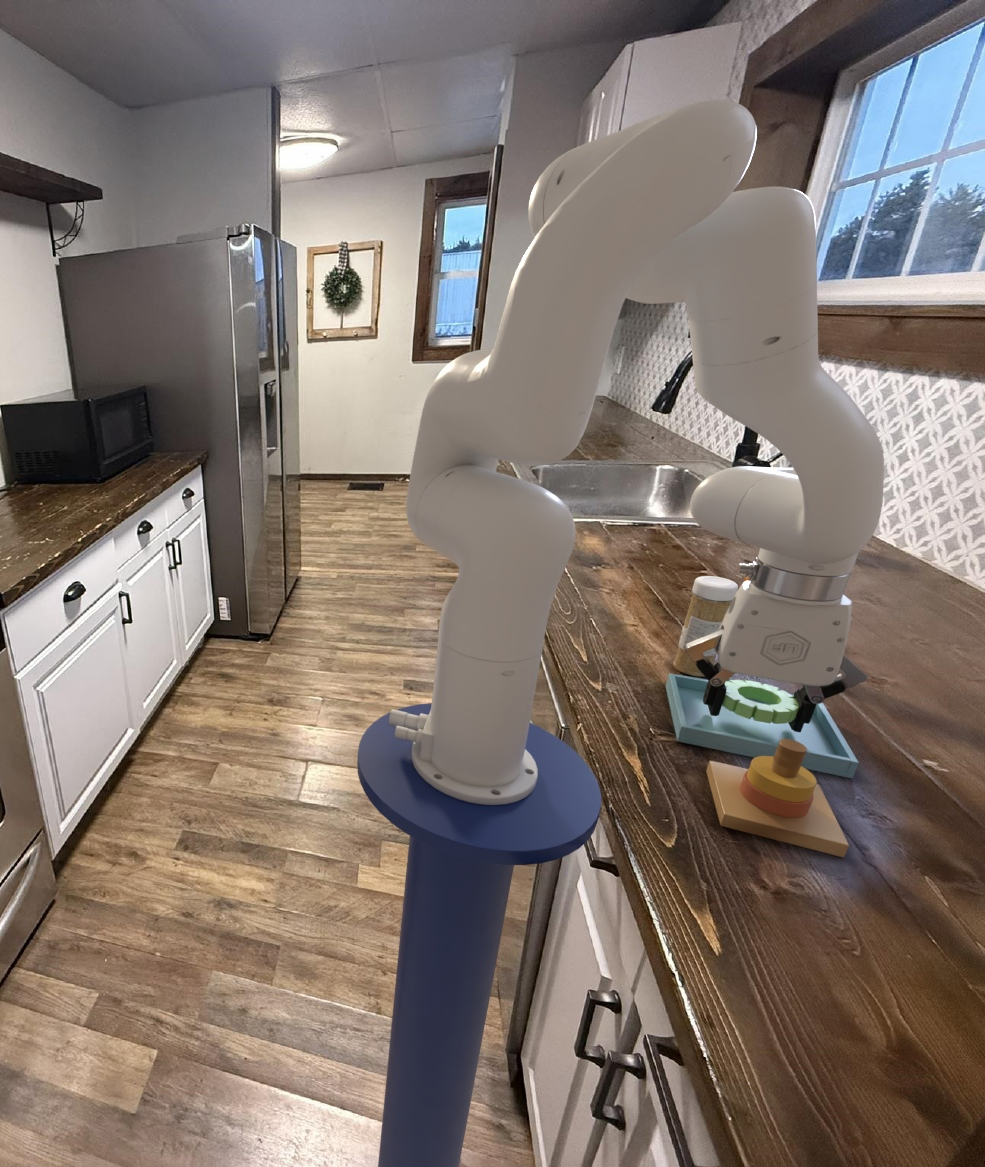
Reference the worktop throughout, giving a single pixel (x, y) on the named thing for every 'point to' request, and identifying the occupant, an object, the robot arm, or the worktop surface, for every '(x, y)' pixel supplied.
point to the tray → (755, 730)
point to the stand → (777, 800)
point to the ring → (777, 712)
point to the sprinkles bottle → (704, 618)
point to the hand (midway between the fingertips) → (751, 716)
